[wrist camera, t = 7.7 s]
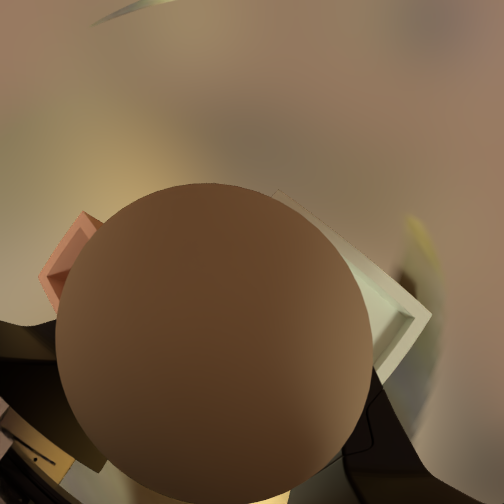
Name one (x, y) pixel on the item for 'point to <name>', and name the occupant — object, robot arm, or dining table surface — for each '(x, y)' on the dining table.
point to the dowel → (214, 344)
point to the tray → (376, 299)
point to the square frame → (66, 256)
